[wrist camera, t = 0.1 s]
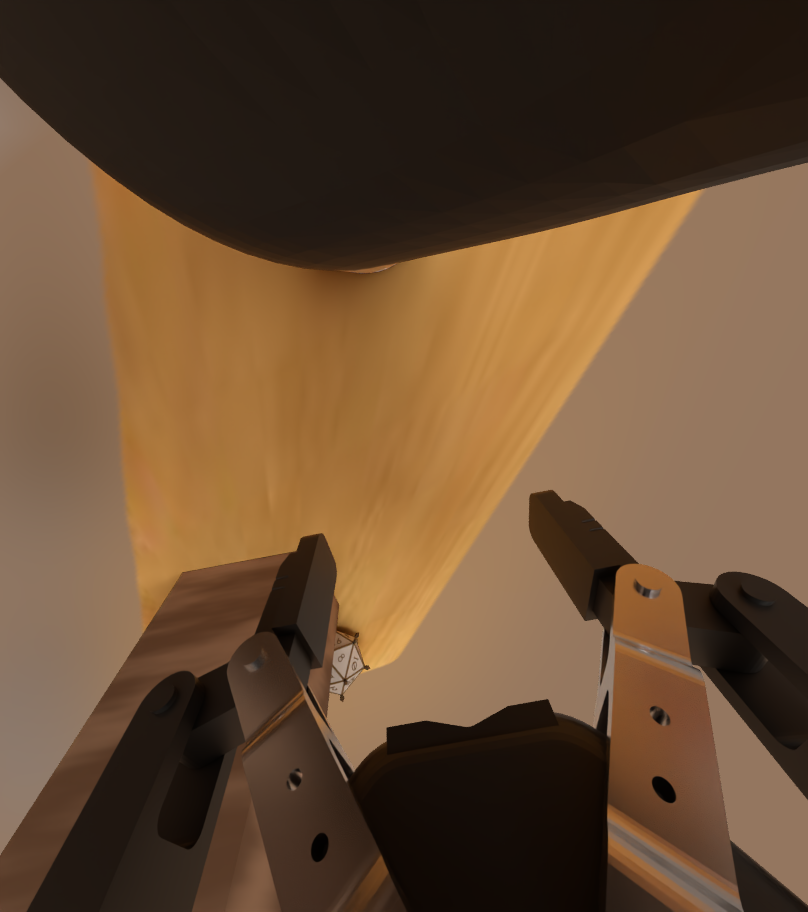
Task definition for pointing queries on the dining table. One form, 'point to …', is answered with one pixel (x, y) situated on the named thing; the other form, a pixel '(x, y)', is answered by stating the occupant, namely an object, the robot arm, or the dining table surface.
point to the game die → (345, 663)
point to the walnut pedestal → (153, 659)
